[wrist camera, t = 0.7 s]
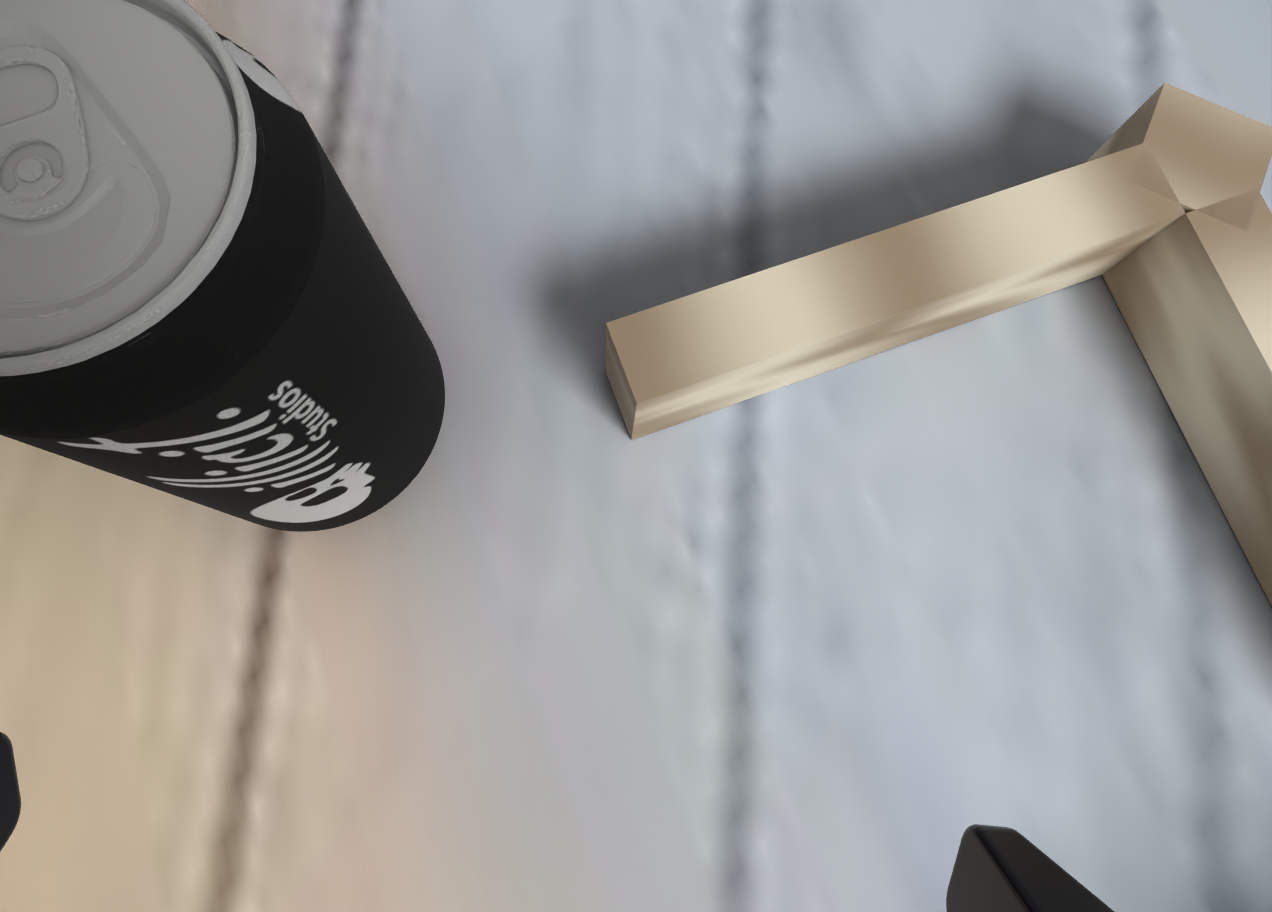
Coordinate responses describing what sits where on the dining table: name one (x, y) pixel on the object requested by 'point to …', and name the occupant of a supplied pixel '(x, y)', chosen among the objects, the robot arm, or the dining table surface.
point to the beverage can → (194, 276)
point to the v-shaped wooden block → (1022, 294)
